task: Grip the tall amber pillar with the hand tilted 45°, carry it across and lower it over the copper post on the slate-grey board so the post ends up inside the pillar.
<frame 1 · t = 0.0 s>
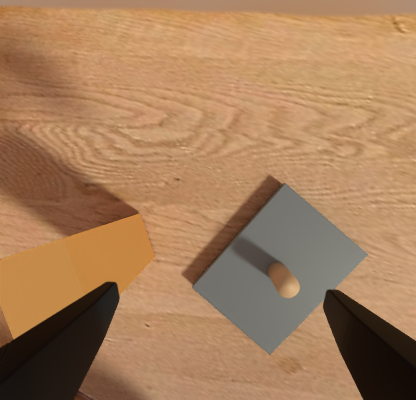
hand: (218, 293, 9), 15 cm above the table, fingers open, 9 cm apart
post board: (275, 268, 24), on the table
tall amber pillar: (126, 241, 25), on the table
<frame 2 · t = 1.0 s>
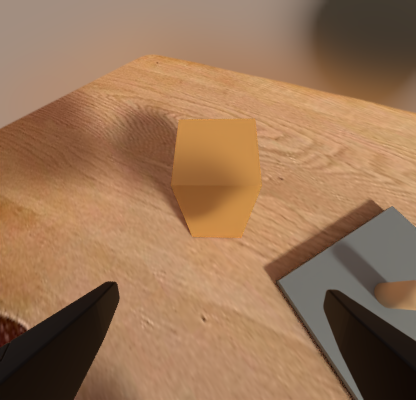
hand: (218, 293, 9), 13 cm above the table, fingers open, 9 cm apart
post board: (379, 295, 20), on the table
tall amber pillar: (216, 214, 24), on the table
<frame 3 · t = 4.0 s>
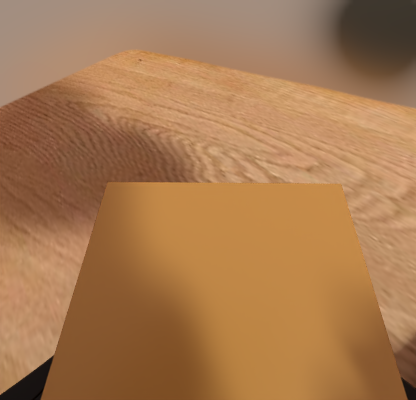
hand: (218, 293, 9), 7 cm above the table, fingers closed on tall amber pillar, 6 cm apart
tall amber pillar: (217, 306, 14), on the table, touching gripper
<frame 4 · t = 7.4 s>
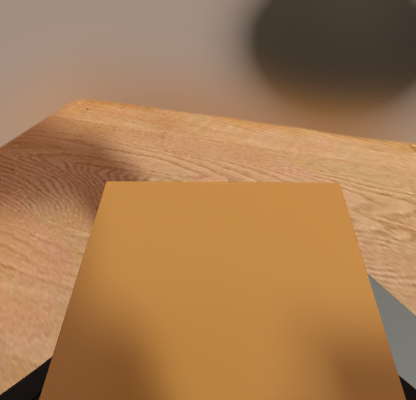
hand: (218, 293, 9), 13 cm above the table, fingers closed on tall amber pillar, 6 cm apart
post board: (345, 368, 18), on the table
tall amber pillar: (217, 305, 14), point 7 cm above the table, touching gripper
when the fingers open (9 cm above the table, at t = 11.1 s): tall amber pillar stays where it is, resting on post board.
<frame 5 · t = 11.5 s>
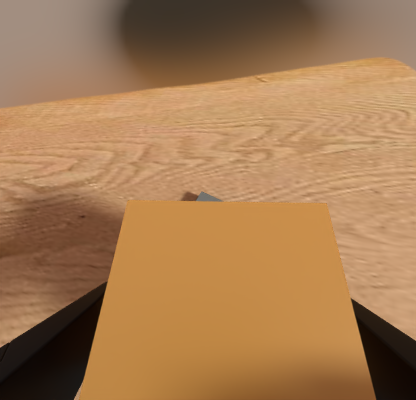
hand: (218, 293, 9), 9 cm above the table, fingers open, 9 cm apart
tall amber pillar: (219, 306, 15), point 1 cm above the table, touching post board
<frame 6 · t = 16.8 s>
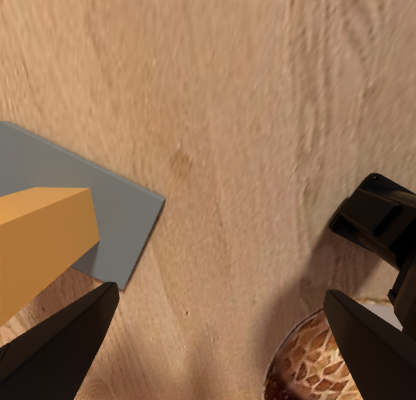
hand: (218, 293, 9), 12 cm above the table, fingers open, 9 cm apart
post board: (75, 212, 21), on the table
tall amber pillar: (68, 214, 20), point 1 cm above the table, touching post board
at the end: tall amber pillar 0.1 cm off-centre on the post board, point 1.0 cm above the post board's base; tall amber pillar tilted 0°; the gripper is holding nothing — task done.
